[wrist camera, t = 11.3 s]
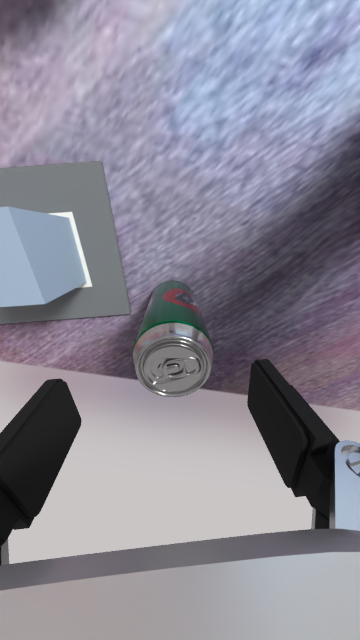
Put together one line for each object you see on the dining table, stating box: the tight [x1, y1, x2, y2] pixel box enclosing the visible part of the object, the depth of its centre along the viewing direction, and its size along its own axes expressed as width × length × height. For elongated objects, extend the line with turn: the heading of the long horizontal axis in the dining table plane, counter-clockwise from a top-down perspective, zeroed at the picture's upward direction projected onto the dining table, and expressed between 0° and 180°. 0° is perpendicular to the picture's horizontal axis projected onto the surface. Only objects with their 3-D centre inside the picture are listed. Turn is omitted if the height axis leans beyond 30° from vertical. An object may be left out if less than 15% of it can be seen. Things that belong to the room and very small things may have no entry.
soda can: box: [132, 281, 214, 397], centre depth 16 cm, size 5×5×12 cm
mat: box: [0, 161, 131, 324], centre depth 18 cm, size 18×14×1 cm
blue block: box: [0, 207, 87, 307], centre depth 15 cm, size 6×6×7 cm
